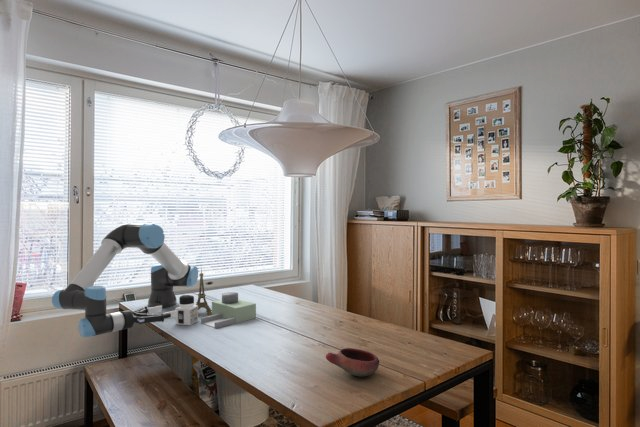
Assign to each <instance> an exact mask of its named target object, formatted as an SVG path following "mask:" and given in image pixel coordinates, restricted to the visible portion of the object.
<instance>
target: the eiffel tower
mask: <svg viewBox="0 0 640 427" xmlns="http://www.w3.org/2000/svg"><path fill="white" fill-rule="evenodd" d="M203 276H204V273H203V271H202V267H201V268H200V272H199V273H198V277H199V290H198V292H199V293H198V294H197V301H196V302H195V303H196V304H195V305H198V311H200V309H203V308H204V309H206V310H205V311H206V313H207V316H209V315H210V316H212V312H211V311H212V308H210V306H209V304H208V303H209V302H207V301H208V300H207V299H206V293H205V286H204V277H203ZM202 299H203V301H201V300H202Z"/></svg>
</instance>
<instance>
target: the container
mask: <svg viewBox="0 0 640 427" xmlns="http://www.w3.org/2000/svg"><path fill="white" fill-rule="evenodd" d="M178 299H179V306H178V307H175V309H174V311H175V310H177V317H174V318H175V321H174V322H175V323H174V324H175V325H178V326H181V325H182V326H191V325H193V324H195V323H197V322H198V321H199V310H198V305H196V304H195V296H194V295H192V294H184V295H181V296H179V298H178Z"/></svg>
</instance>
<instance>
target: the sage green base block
mask: <svg viewBox="0 0 640 427" xmlns="http://www.w3.org/2000/svg"><path fill="white" fill-rule="evenodd" d="M211 310H212V315H210V316H208V315H207V316H204V317H201V318H200V323H201V324H202V325H205V326H208V327H211V328H215V329H218V328H222V327H227V326H231V325H233V324H237V323H241V322H245V321H248V320H253V319H256V318H257V304H256V303H254V302H251V301H247V300H242V299H239V293H238V292H235V291H231V292H230V291H229V292H224V293H222V294H221V299H219V300H214V301H211Z"/></svg>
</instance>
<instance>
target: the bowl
mask: <svg viewBox="0 0 640 427" xmlns="http://www.w3.org/2000/svg"><path fill="white" fill-rule="evenodd" d="M325 358H326V360H327V361H328V362H329V363H331V364H333V365H335V366H337V367H338V368H340V369H342V370H344V371H345V372H346V373H347V374H350V375H352V376H355V377H358V378H359V377H361V378H362V377H367V376H370V375H372V374H375V373H376V371H377V370H378V369H379V367H380V360H379V358H378V356H377V355H376V354H374V353H373V352H371V351H369V350H368V351H367V350H364V349H358V348H354V347H353V348H350V347H348V348H347V347H345V348H341V349H340V350H338V352H337V353H333V352H328V353H326V354H325Z"/></svg>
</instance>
